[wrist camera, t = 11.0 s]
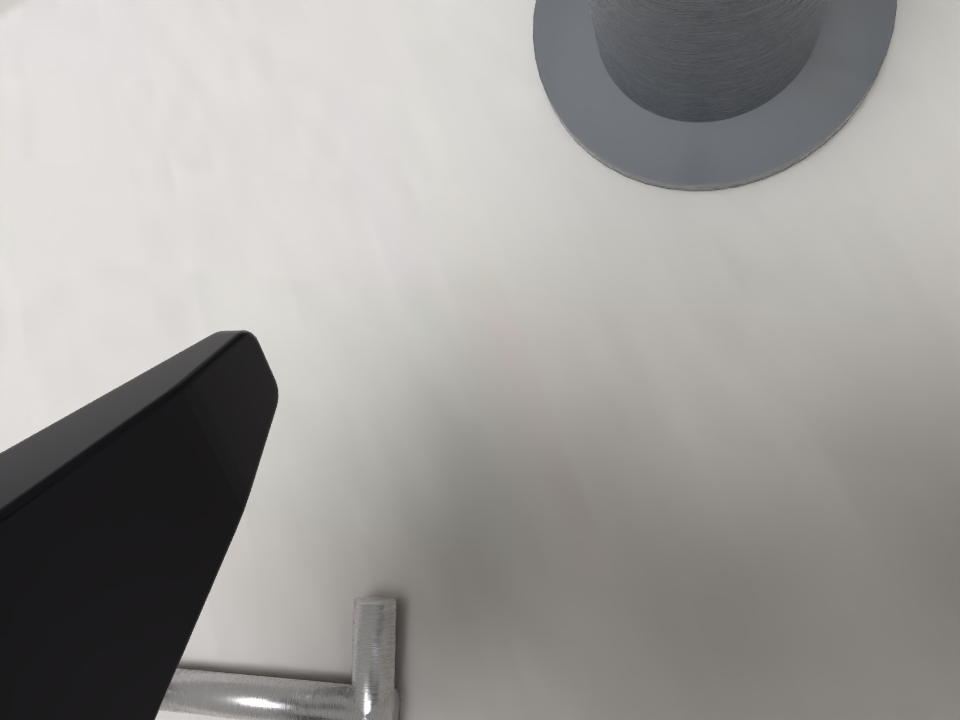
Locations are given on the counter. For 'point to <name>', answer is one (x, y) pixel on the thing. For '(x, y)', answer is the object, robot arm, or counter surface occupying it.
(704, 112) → the grey cylindrical piece
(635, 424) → the counter surface
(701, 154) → the coaster
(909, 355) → the counter surface
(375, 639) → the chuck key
